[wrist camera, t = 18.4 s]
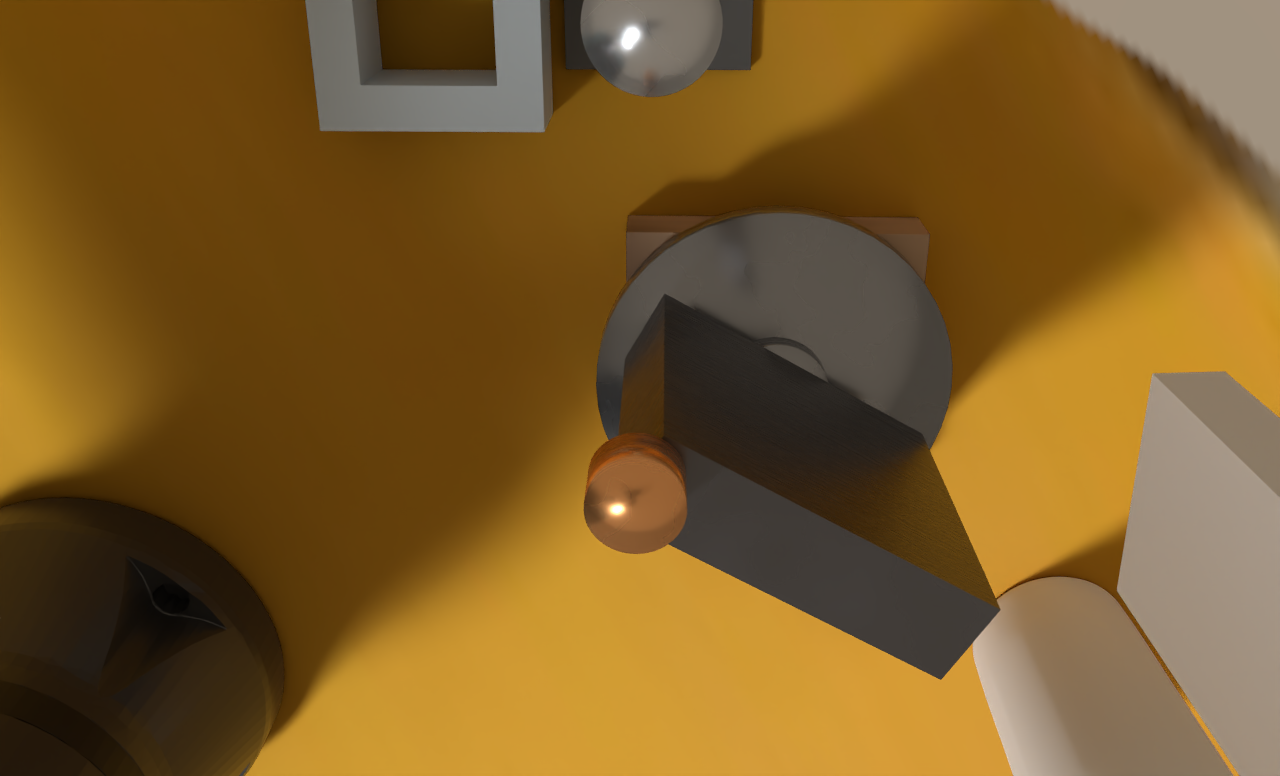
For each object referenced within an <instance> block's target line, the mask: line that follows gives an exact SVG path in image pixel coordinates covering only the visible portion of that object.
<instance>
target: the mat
mask: <svg viewBox="0 0 1280 776" xmlns="http://www.w3.org/2000/svg"><path fill="white" fill-rule="evenodd" d="M719 1H720V5H721V10H722V17H723V28H722V36H721V40H720V44H719V48H718V50H717V53H716V55H715V57H714V59H713V61H712V63H711V64H710V66H709V67H708V68H707V70H751V45H752V20H753V0H719ZM583 2H584V0H564V12H565V51H566V69H596V68H595V67H594V65H593V64H592V62H591V61H590V59H589V57H588V55H587V52H586V50H585V47H584V44H583V40H582V34H581V11H582V6H583Z"/></svg>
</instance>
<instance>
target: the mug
mask: <svg viewBox="0 0 1280 776" xmlns="http://www.w3.org/2000/svg"><path fill="white" fill-rule="evenodd" d="M997 602H998V605H999V607H1000V609H1001V610H1000V611H999V612H998V614H997V615H996V616H995V617H994V618H993V620H992V621H991V622H990V623H989V624H988V625H987V627H986V628H985V629H984V630H983V631H982V632H981V634H980V635H979V636H978V637H977V638H976V639H975V641H974V642H973V656H974V661H975V664H976V668H977V671H978V674H979V677H980V680H981V683H982V687H983V690H984V693H985V696H986V699H987V702H988V705H989V708H990V711H991V713H992V716H993V719H994V722H995V725H996V727H997V730H998V733H999V736H1000V739H1001V741H1002V744H1003V747H1004V750H1005V753H1006V756H1007V759H1008V762H1009V764H1010V767H1011V770H1012V773H1013V776H1233V774H1232V773H1231V771H1230V770H1229V768H1228V767H1227V765H1226V764H1225V762H1224V761H1223V759H1222V758H1221V756H1220V754H1219V753H1218V751H1217V750H1216V748H1215V747H1214V745H1213V744H1212V742H1211V741H1210V739H1209V738H1208V736H1207V735H1206V733H1205V732H1204V730H1203V729H1202V727H1201V726H1200V724H1199V723H1198V721H1197V720H1196V718H1195V717H1194V715H1193V714H1192V712H1191V711H1190V709H1189V708H1188V706H1187V705H1186V703H1185V702H1184V700H1183V698H1182V697H1181V695H1180V694H1179V692H1178V691H1177V689H1176V688H1175V686H1174V685H1173V683H1172V682H1171V680H1170V679H1169V677H1168V676H1167V674H1166V673H1165V671H1164V669H1163V668H1162V666H1161V665H1160V663H1159V662H1158V660H1157V659H1156V657H1155V656H1154V654H1153V652H1152V651H1151V649H1150V648H1149V646H1148V645H1147V643H1146V642H1145V640H1144V639H1143V637H1142V636H1141V634H1140V633H1139V631H1138V630H1137V628H1136V627H1135V625H1134V624H1133V622H1132V621H1131V620H1130V618H1129V617H1128V615H1127V614H1126V613H1125V611H1124V610H1123V608H1122V607H1121V605H1120V604H1119V603H1118V602H1117V600H1116V599H1115V598H1114V597H1113V596H1112V595H1111V594H1109V593H1108V592H1107V591H1106V590H1104V589H1103V588H1101V587H1099V586H1098V585H1096V584H1093V583H1091V582H1088V581H1085V580H1082V579H1078V578H1072V577H1047V578H1041V579H1036V580H1033V581H1029V582H1026V583H1024V584H1021V585H1019V586H1017V587H1015V588H1013V589H1011V590H1009V591H1008V592H1006V593H1005V594H1003V595H1002V596H1001V597H999V598H998V599H997Z"/></svg>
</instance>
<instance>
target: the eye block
mask: <svg viewBox="0 0 1280 776" xmlns="http://www.w3.org/2000/svg"><path fill="white" fill-rule="evenodd" d="M305 3H306V11H307V20H308V29H309V37H310V46H311V55H312V64H313V72H314V81H315V90H316V98H317V107H318V116H319V124H320V131H415V132H545V130H546V128H547V125H548V123H549V121H550V119H551V117H552V114H553V92H552V59H551V26H550V0H493V14H494V34H495V54H496V70H405V69H382V58H381V47H380V36H379V24H378V13H377V2H376V0H305Z"/></svg>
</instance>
